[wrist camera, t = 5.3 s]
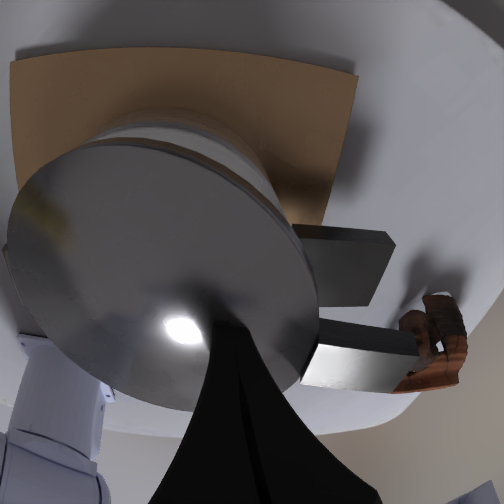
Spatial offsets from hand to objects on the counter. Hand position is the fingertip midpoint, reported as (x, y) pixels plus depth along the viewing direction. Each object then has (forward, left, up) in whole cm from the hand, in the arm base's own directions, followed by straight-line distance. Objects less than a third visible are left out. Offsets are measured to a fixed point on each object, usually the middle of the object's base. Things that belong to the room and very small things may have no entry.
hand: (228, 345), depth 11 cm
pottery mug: (-10, -19, -10) cm, 23 cm away
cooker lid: (0, +1, -1) cm, 2 cm away
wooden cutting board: (0, +3, -9) cm, 10 cm away
